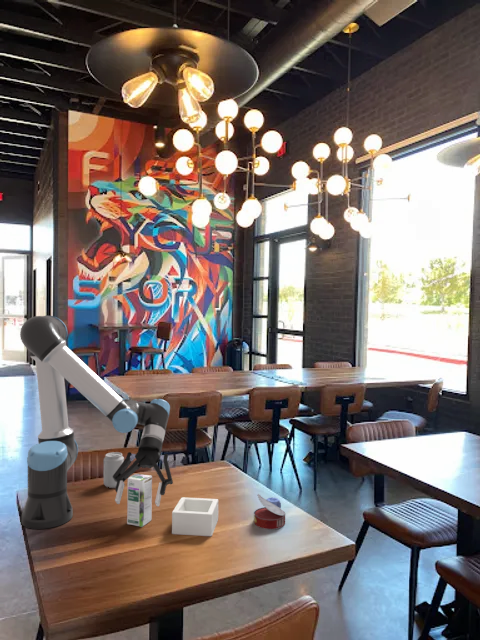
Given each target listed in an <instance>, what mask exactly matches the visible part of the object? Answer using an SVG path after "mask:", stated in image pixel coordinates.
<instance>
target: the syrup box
mask: <svg viewBox="0 0 480 640" xmlns="http://www.w3.org/2000/svg"><path fill="white" fill-rule="evenodd" d="M126 490H127V501H126V502H127V513H126V514H127V515H126V516H127V517H126V524H127V525H132V526H135V527H140V528H143V527H144V526H146V525H147V524H148V523H150V522H151V521H152V515H153V514H152V511H153V509H152V506H153V505H152V504H153V503H152V502H153V475H149V474H141V473H135V474H132V475H131V476H130V477H129V478H127V489H126Z"/></svg>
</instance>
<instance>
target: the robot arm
mask: <svg viewBox="0 0 480 640" xmlns="http://www.w3.org/2000/svg"><path fill="white" fill-rule="evenodd" d="M19 335H20V340H21V342H22V344H23V346H24V347H25V348H26V349H27V350H28V351H29V354H30V355H29V356H30V358H31V359H32V360H34V361H35V367H36V369H35V370H36V379H37V388H38V391H37V392H38V398H39V399H38V400H39V410H40V423H41V432H40V433H39V434H38V435H37V441H38V443H36V444H34V445H33V446H31V447H30V448H29V450H28V452H27V457H26V463H27V498H26V502H25V505H24V508H23V511H22V513H21V525H22V526H23V527H25V528H28V529H33V530H34V529H35V530H44V529H51V528H55V527H59V526H62V525H64V524H66V523H68V522H69V521H71V520H72V518H73V511H74V509H73V505H72V504H71V501H70V498H69V497H70V496H69V495H68V471H69V470H70V468H71V467H72V466H73V465H74V464H75V462H76V461H77V458H78V455H79V454H78V453H79V446H78V443H77V441H76V439H75V433H74V429H73V428H71V427H70V426H69V419H68V417H69V416H68V406H67V395H66V384H65V380H66V381H67V382H68V383H69V384H70V385H72V386H73V387H74V388H75V389H76V390H77V391H78V392H79V393H80V394H81V395H82V396H83V397H85V399H87V400H88V401H89V402H90V403H91V404H92V405H93V406H94V407H96V409H98V411H100V412H101V414H103V415H104V416H105V417H106V418H107V419H108V421H110V422H111V423H112V426H113V428H114V429H115V430H116V431H117V432H118V433H121V434H122V433H123V434H126V433H130V432H131V431H134V429H135V428H136V427H137V425H142V426H143V430H142V435H141V439H140V442H139V445H138V449H137V450H138V451H137V452H136V453H132V452H130V451H129V452H127V454H126V458H124V462H123V463H122V464H121V466H120V467H119V468H118V470H117V471H116V472H115V474H114V475H113V479H114V481H115V482H117V484H116V488H114V490H115V492H116V495H115V499H114V501H115V503H116V504H117V505H120V503H121V500H122V496H123V493H124V488H125V481H127V480H128V478H129V477H131V476H132V475H134V473H135V472H137V470H139V469H140V468H141V469H145V468H147V469H151V468H153V469H154V471H155V472H156V474H157V476H158V478H159V480H160V481H159V483H158V487H157V492H156V496H155V501H154V504H155V505H156V507H160V504H161V499H162V496H165V495H166V494H165V493H166V490H167V486H168V485H172V484H174V481H173V478H172V477H173V476H172V473H171V469H170V465H169V461H170V457H169V454H168V453H164V454H162V455H161V453H162V449H163V443H164V439H165V435H166V430H167V426H168V422H169V418H170V412H171V411H170V410H171V405H170V404H169V402H168V401H166V400H164V399H162V398H158V399H157V398H154V399H152V400H151V401H150V403H145V402H141V401H136V400H133V399H129V398H124V397H121V396H120V395H119V394H118V393H117V392H116V391H115V390H114V389H113V388H112V387H111V386H109V384H107V383H106V381H104V380H103V378H101V377H100V376H99V375H97V373H96V372H94V370H92V368H90V366H88V365H87V364H86V363H85V362H84V361H83V360H82V359H80V357H79V356H78V355H77V354H76V353H74V351H72V350H71V349H70V348H69V347H68V345H67V339H68V328H67V326H66V324H65V323H64V322H63V320H62V319H60V318H58V317H56V316H53V315H36V316H32V317H30V318H28V319H27V320H26V321H25V322H24V323H23V324H22V326H21V328H20V334H19ZM135 459H136V460H135ZM134 460H135V461H134ZM160 461H162V462H163V465H164V470H165V473H166V478H165V477H164V474H163V472H162V470H161V469H160V467H159V465H158V463H159V462H160ZM132 462H133V463H132ZM131 463H132V464H131Z"/></svg>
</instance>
